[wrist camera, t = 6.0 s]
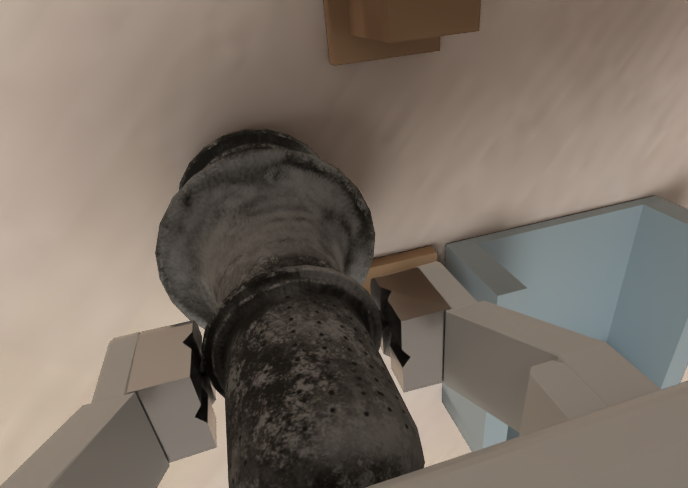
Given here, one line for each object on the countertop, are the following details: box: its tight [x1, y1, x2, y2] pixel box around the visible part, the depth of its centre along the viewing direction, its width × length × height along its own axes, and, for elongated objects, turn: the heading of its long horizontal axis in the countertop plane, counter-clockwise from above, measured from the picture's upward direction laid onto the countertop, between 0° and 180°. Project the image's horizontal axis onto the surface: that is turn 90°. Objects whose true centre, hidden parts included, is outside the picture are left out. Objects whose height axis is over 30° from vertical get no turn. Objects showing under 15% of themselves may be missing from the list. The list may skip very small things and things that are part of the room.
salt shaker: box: [155, 129, 425, 488], centre depth 10 cm, size 6×6×12 cm
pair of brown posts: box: [323, 0, 481, 304], centre depth 15 cm, size 15×4×4 cm, turn 6°
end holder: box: [442, 196, 688, 452], centre depth 21 cm, size 10×11×4 cm
